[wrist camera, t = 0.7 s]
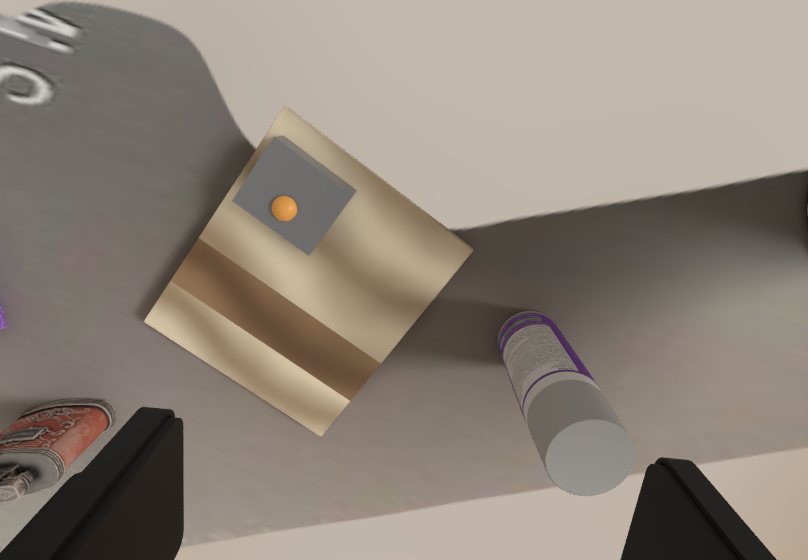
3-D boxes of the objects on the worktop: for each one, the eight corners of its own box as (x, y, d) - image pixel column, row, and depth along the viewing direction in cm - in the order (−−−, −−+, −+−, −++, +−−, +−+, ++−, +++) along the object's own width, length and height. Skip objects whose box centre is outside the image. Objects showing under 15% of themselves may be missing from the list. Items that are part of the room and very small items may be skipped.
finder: (283, 135, 35) (272, 136, 33) (357, 190, 36) (352, 196, 34) (243, 195, 37) (230, 201, 34) (315, 247, 38) (308, 257, 35)
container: (564, 358, 41) (645, 486, 27) (505, 373, 42) (553, 507, 27) (552, 303, 40) (629, 407, 25) (490, 319, 40) (533, 430, 26)
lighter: (108, 392, 43) (20, 471, 33) (122, 429, 44) (40, 516, 34) (14, 407, 43) (-99, 489, 34) (30, 443, 44) (-76, 532, 35)
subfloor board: (288, 107, 36) (284, 107, 35) (471, 246, 39) (473, 250, 38) (151, 315, 41) (143, 321, 40) (323, 428, 43) (320, 436, 42)
